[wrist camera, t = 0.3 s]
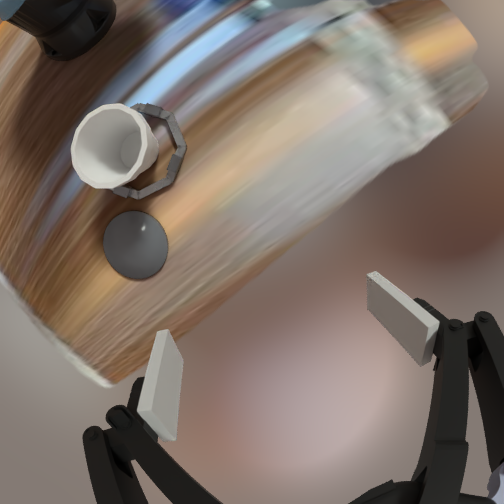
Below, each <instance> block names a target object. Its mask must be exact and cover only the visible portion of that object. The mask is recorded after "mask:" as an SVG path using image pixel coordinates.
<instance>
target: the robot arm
mask: <svg viewBox="0 0 504 504" xmlns="http://www.w3.org/2000/svg"><path fill="white" fill-rule="evenodd" d="M115 15H116V5H115V3H114V1H113V0H0V18H1V19H2V20H3V21H7V22H9V23H11V24H13V25H15V26H17V27H19V28H20V29H22V30H24V31H26V32H28V33H29V34H31V35H33V36H35V37H36V39H37V41H38V43H39V45H40V47H41V49H42V51H43V53H44V54H45V55H47V56H48V57H50V58H52V59H54V60H57V61H65V60H70V59H73V58H75V57H77V56H79V55H81V54H83V53H85V52H86V51H88V50H89V49H90V48H92V47H93V46H94V45H95V44H96V43H98V42H99V41H100V40H101V39H102V37H103V36H104V35H105V34H106V33H107V31H108V30H109V28H110V27H111V25H112V23H113V21H114V19H115ZM366 279H367V309H368V310H369V311H370V312H371V313H372V314H373V315H374V316H375V317H376V319H377V320H378V321H379V322H380V323H381V324H382V325H383V326H384V327H385V328H386V329H387V330H388V331H389V333H390V334H391V335H392V336H393V337H394V338H395V339H396V340H397V341H398V342H399V343H400V345H401V346H402V347H403V348H404V349H405V350H406V351H407V352H408V353H409V355H411V357H412V358H413V359H414V360H415V361H416V362H417V363H418V365H419V366H420V367H421V366H423V365H425V364H427V363H428V362H430V361H431V359H432V355H433V354H435V356H436V357H437V358H436V362H435V365H434V369H433V370H434V371H435V375H434V384H433V392H432V399H431V406H430V412H429V418H428V423H427V428H426V433H425V437H424V442H423V446H422V450H421V454H420V458H419V461H418V465H417V467H416V470H415V472H414V474H413V476H412V479H411V481H401V482H396V483H393V480H390V481H388V482H386V483H384V484H382V485H379V486H377V487H375V488H373V489H370V490H368V491H367V492H366V493H364V494H363V495H361V496H360V497H358V498H357V499H355V500H354V501H352V502H350V503H349V504H504V336H503V334H502V332H501V330H500V328H499V327H498V325H497V322H496V321H495V319H494V317H493V316H492V315H491V314H490V313H488V312H485V311H480V312H477V313H476V314H475V317H474V321H470V322H467V323H463V322H462V321H460V320H458V319H450V320H449V319H447V318H446V317H445V316H444V315H442V314H441V313H440V312H439V311H437V310H436V309H434V308H433V307H432V306H430V304H428V303H427V302H426V301H425V300H422V299H419V298H415V299H413V300H412V299H411V298H410V297H409V296H407V295H406V294H405V293H404V292H402V291H401V290H400V289H398V288H397V287H396V286H395V285H393V284H392V283H391V282H389V281H388V280H387V279H385V278H384V277H383V276H381V275H380V274H379V273H377V272H376V271H375V272H372V273H370V274H367V275H366ZM183 362H184V360H183V358H182V356H181V354H180V353H179V350H178V348H177V347H176V344H175V342H174V340H173V338H172V336H171V334H170V332H169V330H168V329H166V330H161V331H157V335H156V338H155V342H154V345H153V349H152V352H151V356H150V360H149V363H148V367H147V371H146V375H145V377H140V378H137V380H136V381H135V382H134V384H133V386H132V390H131V393H130V398H129V401H128V404H127V407H125V406H124V405H116V406H114V407H112V408H111V409H110V410H109V411H108V412H107V414H106V421H107V423H108V424H109V425H110V426H111V427H112V428H110V429H107V430H102V429H101V428H100V427H98V426H91V427H89V428H87V429H86V430H85V432H84V434H83V445H84V451H85V455H86V461H87V466H88V471H89V474H90V479H91V483H92V487H93V491H94V495H95V498H96V502H97V504H148V501H147V499H146V497H145V495H144V493H143V490H142V488H141V486H140V484H139V481H138V479H137V476H136V474H135V471H134V469H133V466H132V464H131V460H134V459H135V460H136V461H137V462H138V464H139V465H140V466H141V468H142V469H143V470H144V471H145V473H146V474H147V475H148V476H149V477H150V479H151V480H152V481H153V482H154V483H155V485H156V486H157V487H158V488H159V489H160V490H161V491H162V493H164V495H165V496H166V497H167V498H168V499H169V500H170V501H171V502H172V503H173V504H223V503H222V502H220V501H219V500H218V499H217V498H215V497H214V496H213V495H212V494H211V493H209V492H208V491H207V490H206V489H205V488H204V487H202V486H201V485H200V484H199V483H198V482H197V481H196V480H194V479H193V478H192V477H191V476H190V475H189V474H188V473H187V472H186V471H185V470H184V469H183V468H182V467H181V466H180V465H179V464H178V463H177V462H176V461H175V460H174V459H173V458H172V457H171V456H170V455H169V454H168V453H167V452H166V451H165V450H164V449H163V448H162V447H161V446H160V445H159V444H158V443H157V441H158V437H159V438H160V439H161V440H162V441H176V440H177V426H178V412H179V401H180V390H181V380H182V371H183ZM468 366H469V367H468ZM469 370H470V373H471V376H472V379H473V383H474V387H475V390H476V394H477V398H478V402H479V407H480V411H481V416H482V420H483V426H484V431H485V437H486V444H487V451H488V458H489V465H490V468H491V472H492V474H491V476H490V479H489V483H488V485H487V489H488V491H489V495H488V497H482V496H475V495H469V494H464V493H460V489H461V485H462V481H463V476H464V472H465V466H466V460H467V455H468V446H469V445H468V442H466V440H465V437H466V427H467V416H468V397H469V396H468V395H469Z"/></svg>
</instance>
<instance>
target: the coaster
mask: <svg viewBox="0 0 504 504" xmlns="http://www.w3.org/2000/svg"><path fill="white" fill-rule="evenodd" d="M103 247H104V252H105V255H106V257H107V260H108V261H109V263H110V264H111V266H112V267H113V268H114V269H115V270H116V271H118V272H119V273H120V274H122V275H124V276H126V277H129V278H134V279H141V278H146V277H149V276H151V275H153V274H155V273H156V272H157V271H158V270H159V269H160V268H161V267H162V265H163V264H164V262H165V260H166V257H167V253H168V239H167V235H166V233H165V230H164V229H163V227H162V226H161V224H160V223H159V222H158V221H157V220H156V219H155V218H154V217H152V216H151V215H149V214H147V213H145V212H141V211H127V212H124V213H122V214H120V215H118V216H116V217H115V218H114V219H113V220H112V221H111V222H110V223H109V225H108V226H107V228H106V230H105V233H104V238H103Z"/></svg>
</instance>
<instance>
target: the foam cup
mask: <svg viewBox="0 0 504 504" xmlns="http://www.w3.org/2000/svg"><path fill="white" fill-rule="evenodd" d="M158 153H159V145H158V141H157V139H156V138H155V136H154V135H153V133H152V132H151V128H150V126H149V125H148V123H147V122H146V120H145V119H144V117H143V116H142V114H140V113H138V112H137V111H135V110H133V109H131V108H129V107H127V106H125V105H123V104H107V105H102V106H100V107H99V108H97V109H95V110H94V111H92V112H90V113H89V114H87V115H86V117H85V118H84V119H83V121H82V122H81V123H80V125H79V126H78V127H77V129H76V131H75V135H74V138H73V142H72V145H71V154H72V163H73V167H74V169H75V170H76V172H77V174H78V175H79V177H80V178H81V180H82V181H84V182H86V183H87V184H89V185H91V186H92V187H94V188H116V187H120V186H122V185H124V184H126V183H128V182H130V181H132V180H134V179H135V178H136V177H137V176H138V175H139V174H140V173H142V172H143V171H145V170H146V169H148V168H150V167H151V165H152V164H153V163H154V162H155V161H156V159H157V156H158Z"/></svg>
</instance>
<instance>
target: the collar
mask: <svg viewBox="0 0 504 504" xmlns="http://www.w3.org/2000/svg"><path fill="white" fill-rule="evenodd" d="M130 108H131V109H133V110H135V111H137V112H138V113H139V112H142V113H145V114H147V115H150V116H153V117H156V118H162V119H165V120H167V122H168V125H169V127H170V130H171V132H172V134H173V137H174V139H175V141H176V144H177V146H178V148H177V150H176V153H175V154H173V155H172V157H171V160H170V162H169V165H168V168H167V170H169V171H168V173H167V176H166V178H163V179H161V180H159V181H157V182H155V183H153V184H151V185H149V186H148V187H146V188H144V189H142V190H137V189H134V188H133V187H130V186H128V185H125V184H124V185H122V186H120V187H116V188H108V189H110V190H113V193H114V194H117V195H120V196H122V197H125V198H128V197H132V198H135V199H142V198H144V197H146V196H147V195H149V194H151V193H153V192H155V191H157V190H159V189H161V188H163V187H165V186H168V185H170V184H172V182H174V180H175V177H176V174H177V173H178V171H179V168H180V166H181V163H182V161H183V157H184V154H185V152H186V150H187V148H186V146H187V145H186V142H185V140H184V138H183V135H182V133H181V131H180V128H179V126H178V123H177V121H176V119H175V116H174V114H172V113H171V112H168V111H165V110H163V109H162V108H161V107H158V106H155V105H151V104H148V103H147V104H146V105H145V104H141V103H140V104H138V103H137V104H136V105H134V106H132V107H130Z"/></svg>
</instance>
